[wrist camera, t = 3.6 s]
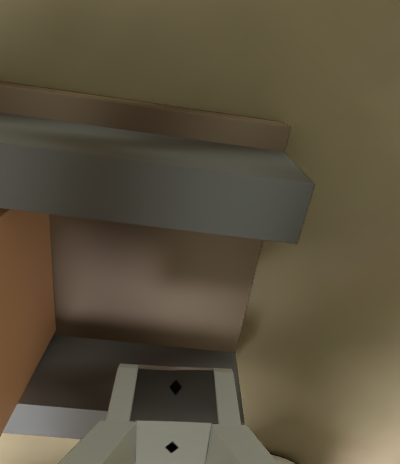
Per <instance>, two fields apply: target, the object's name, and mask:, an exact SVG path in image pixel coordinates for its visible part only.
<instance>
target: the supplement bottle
mask: <svg viewBox="0 0 400 464" xmlns="http://www.w3.org/2000/svg"><path fill="white" fill-rule="evenodd" d="M271 456H272V457H273V458H274V459H275V461H276V462H277V463H278V464H295V463H293V462H291V461H289V460H287V459H285V458H282V457H279V456H274V455H271Z"/></svg>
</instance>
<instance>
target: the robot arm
mask: <svg viewBox="0 0 400 464" xmlns="http://www.w3.org/2000/svg"><path fill="white" fill-rule="evenodd" d="M58 464H278V463H277V462H276V461H275V459H274V458H273V457H272V456H271V454H270V453H269V452H268V451H267V449H266V448H265V447H264V446H263V445H262V443H261V442H260V441H259V440H258V438H257V437H256V436H255V435H254V433H253V432H252V431H251V430H250V429H249V427H248V426H247V425H241V420H240V414H239V407H238V401H237V394H236V387H235V381H234V374H233V371H232V369H225V368H213V369H212V368H202V367H168V366H154V365H140V364H139V365H136V364H121V363H120V365H119V367H118V369H117V374H116V378H115V382H114V387H113V391H112V395H111V400H110V404H109V409H108V413H107V417H106V420H100V421H99V422H98V423H97V424H96V425H95V426H94V427H93V428H92V429H91V430H90V431H89V432H88V433H87V434H86V435H85V436H84V437H83V438H82V439H81V440H80V441H79V442H78V443H77V445H76V446H75V447H74V448H73V449H72V450H71V451H70V452H69V453H68V454H67V455H66V456H65V457H64V458H63V459H62V460H61V461H60V462H59V463H58Z"/></svg>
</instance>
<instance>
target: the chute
mask: <svg viewBox="0 0 400 464" xmlns="http://www.w3.org/2000/svg"><path fill="white" fill-rule="evenodd" d="M289 132H290V127H289V126H288V125H286V124H285V123H284V122H279V121H272V120H265V119H258V118H251V117H244V116H237V115H230V114H223V113H216V112H209V111H202V110H195V109H188V108H181V107H174V106H167V105H160V104H153V103H146V102H139V101H132V100H125V99H118V98H112V97H105V96H98V95H91V94H84V93H77V92H70V91H63V90H56V89H49V88H42V87H35V86H28V85H21V84H14V83H7V82H0V208H4V209H12V210H20V211H28V212H37V213H45V214H49V221H50V238H51V255H52V272H53V289H54V306H55V323H56V331H55V333H54V335H53V337H52V339H51V340H50V342H49V344H48V346H47V348H46V350H45V352H44V354H43V356H42V358H41V360H40V361H39V363H38V365H37V367H36V369H35V371H34V373H33V375H32V377H31V379H30V381H29V382H28V384H27V386H26V388H25V390H24V392H23V394H22V396H21V398H20V400H19V402H18V403H17V405H16V407H15V409H14V411H13V413H12V415H11V417H10V419H9V421H8V423H7V424H6V426H5V428H4V430H3V432H2V433H10V434H23V435H35V436H48V437H60V438H73V439H82V438H83V437H84V436H85V435H86V434H87V433H88V432H89V431H90V430H91V429H92V428H93V427H94V426H95V425H96V424H97V423H98V422H99V421H100V420H106V417H107V413H108V409H109V404H110V400H111V395H112V391H113V387H114V382H115V378H116V374H117V369H118V367H119V365H120V363H121V364H136V365H139V364H140V365H154V366H168V367H202V368H212V369H213V368H225V369H232V371H233V374H234V381H235V387H236V394H237V401H238V407H239V414H240V420H241V425H244V416H243V408H242V400H241V393H240V385H239V377H238V369H237V361H236V348H237V344H238V340H239V336H240V332H241V328H242V324H243V320H244V316H245V312H246V308H247V304H248V300H249V296H250V291H251V287H252V283H253V279H254V275H255V271H256V267H257V263H258V259H259V255H260V251H261V247H262V243H263V240H269V241H277V242H285V243H293V244H298V240H299V237H300V233H301V230H302V227H303V223H304V220H305V217H306V213H307V210H308V206H309V203H310V200H311V196H312V193H313V190H314V186H315V184H314V183H313V182H312V181H311V180H310V178H309V177H308V176H307V175H306V174H305V173H304V172H303V171H302V170H301V169H300V168H299V167H298V166H297V164H296V163H295V162H294V161H293V160H292V159H291V158H290V157H289V156H288V155H287V154H286V153H285V149H286V145H287V141H288V137H289Z"/></svg>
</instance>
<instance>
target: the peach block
mask: <svg viewBox="0 0 400 464" xmlns="http://www.w3.org/2000/svg"><path fill="white" fill-rule="evenodd" d="M55 331H56V323H55V306H54V289H53V272H52V255H51V238H50V221H49V214H45V213H37V212H28V211H20V210H12V209H4V208H0V436H1V434H2V432H3V430H4V428H5V426H6V424H7V423H8V421H9V419H10V417H11V415H12V413H13V411H14V409H15V407H16V405H17V403H18V402H19V400H20V398H21V396H22V394H23V392H24V390H25V388H26V386H27V384H28V382H29V381H30V379H31V377H32V375H33V373H34V371H35V369H36V367H37V365H38V363H39V361H40V360H41V358H42V356H43V354H44V352H45V350H46V348H47V346H48V344H49V342H50V340H51V339H52V337H53V335H54V333H55Z"/></svg>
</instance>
